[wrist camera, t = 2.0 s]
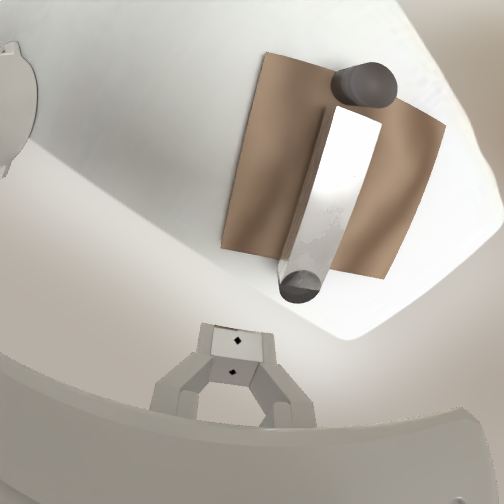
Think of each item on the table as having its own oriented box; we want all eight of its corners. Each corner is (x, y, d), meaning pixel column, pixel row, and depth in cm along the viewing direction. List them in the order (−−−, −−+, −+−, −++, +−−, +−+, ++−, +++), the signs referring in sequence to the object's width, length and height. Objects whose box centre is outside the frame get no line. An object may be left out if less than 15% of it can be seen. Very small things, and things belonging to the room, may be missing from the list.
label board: (221, 241, 31) (214, 282, 24) (267, 47, 20) (274, 27, 14) (379, 272, 33) (403, 311, 26) (440, 117, 23) (483, 128, 16)
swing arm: (326, 105, 21) (336, 106, 18) (367, 120, 21) (381, 123, 19) (272, 281, 30) (274, 300, 27) (307, 288, 30) (312, 306, 28)
